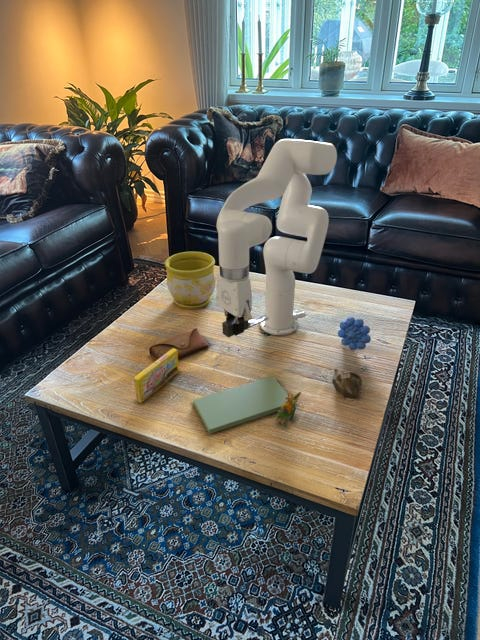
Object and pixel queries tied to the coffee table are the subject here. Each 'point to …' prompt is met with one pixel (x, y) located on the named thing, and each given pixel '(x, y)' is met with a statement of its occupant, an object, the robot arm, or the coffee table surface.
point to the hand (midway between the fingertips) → (235, 330)
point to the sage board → (240, 404)
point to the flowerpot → (191, 278)
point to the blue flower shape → (354, 333)
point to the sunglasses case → (180, 345)
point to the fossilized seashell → (347, 383)
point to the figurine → (287, 409)
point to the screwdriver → (229, 324)
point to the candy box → (156, 375)
